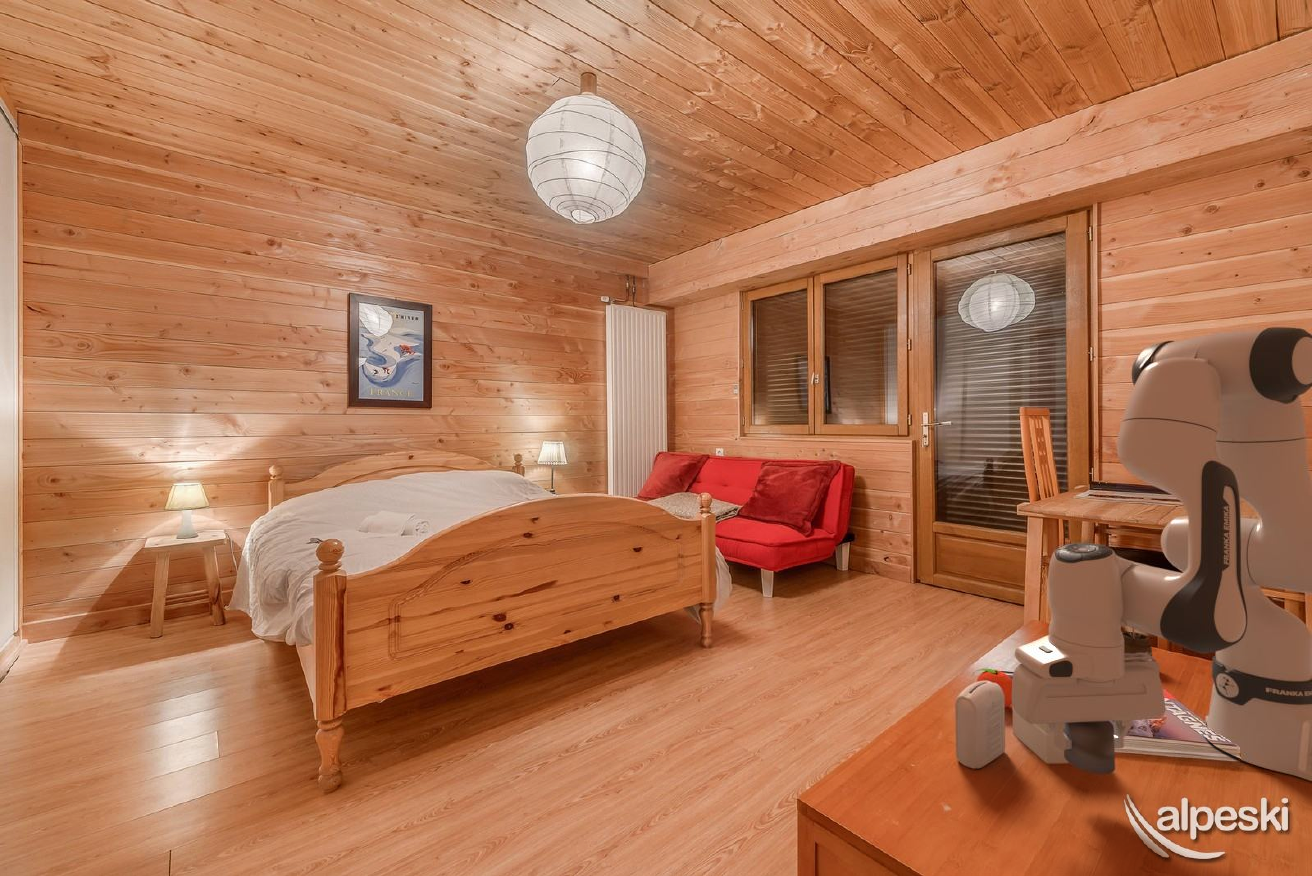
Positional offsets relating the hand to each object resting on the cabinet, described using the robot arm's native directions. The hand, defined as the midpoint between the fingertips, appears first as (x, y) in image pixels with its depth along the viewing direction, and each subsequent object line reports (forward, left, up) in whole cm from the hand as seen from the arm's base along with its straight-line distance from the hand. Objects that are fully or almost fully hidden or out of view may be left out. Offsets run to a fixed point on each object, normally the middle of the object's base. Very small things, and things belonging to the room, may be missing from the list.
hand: (1088, 747), depth 83 cm
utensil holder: (-43, -45, -8) cm, 63 cm away
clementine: (-2, -29, -8) cm, 30 cm away
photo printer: (+10, -12, -8) cm, 17 cm away
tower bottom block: (-4, -14, -8) cm, 17 cm away
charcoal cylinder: (0, 0, -2) cm, 2 cm away
